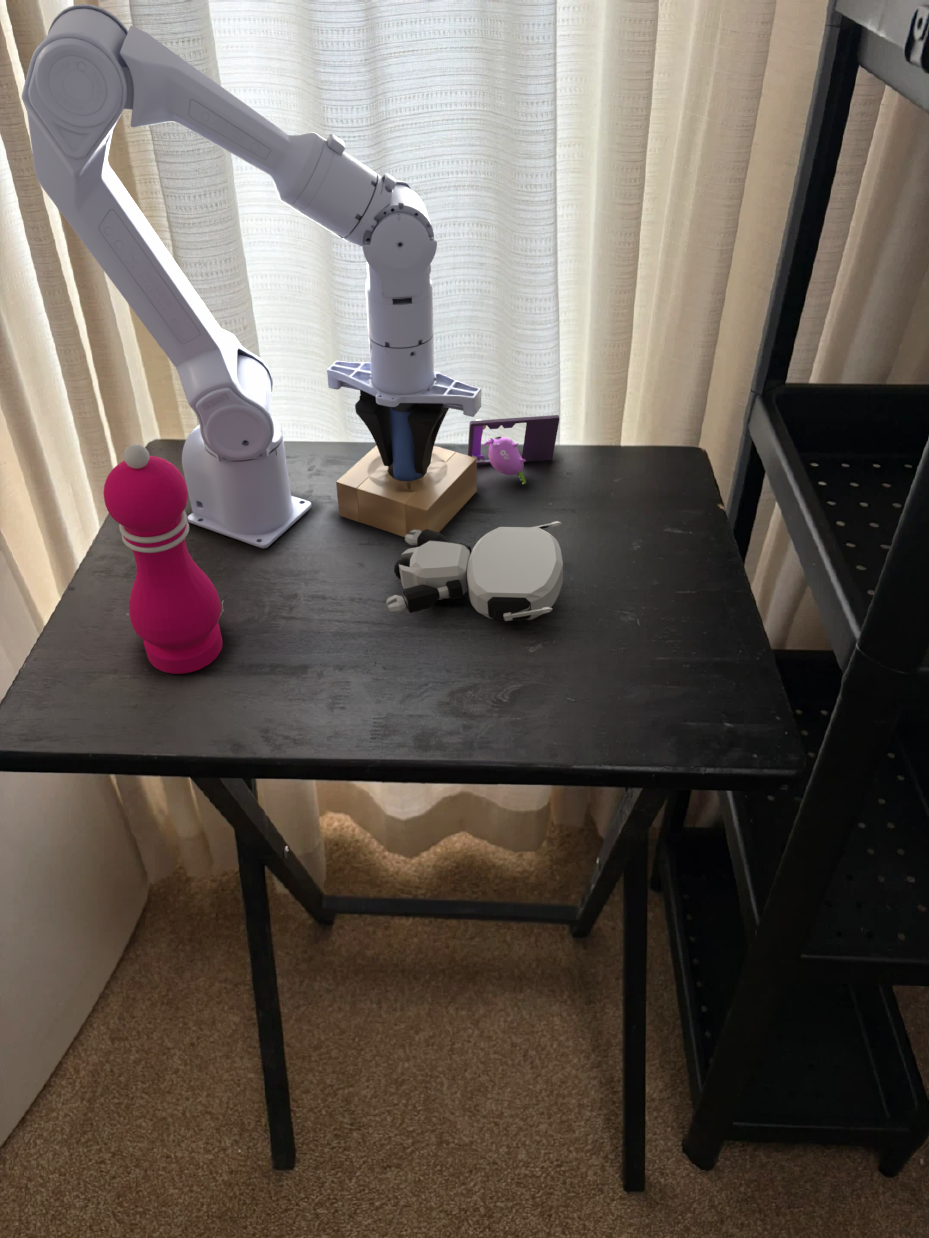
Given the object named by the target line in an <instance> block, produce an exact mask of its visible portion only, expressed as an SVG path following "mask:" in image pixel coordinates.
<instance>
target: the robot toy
mask: <svg viewBox="0 0 929 1238" xmlns="http://www.w3.org/2000/svg"><path fill="white" fill-rule="evenodd" d="M562 524H563V522H561V521H558V520H556V521H552V522H551V523H545V524H541V525H536V526H535V525H534V526H499V527H497V528H495V529H494V528H493V530H491V531H489V532H486V534H484V535H483V536H482V537H480V538H479V540H478V541H477V542H476V544H475V545H474V546H473V547H471V545H468V544H465V543H462V542H460V543H456V542H455V543H454V542H450V541H449V540H448V538H447V537H446V536H444V534H443V533H441V532H439V533H438V532H435V531H432V530H428V529H425V530H423V531H422V532H421V531H420V530H415V529H413V530H412V531H410V532H409V534H407V535H406V536H405V537H404V541H405V542H406V543H407V544H408V545H410V546H416V547H410V548H407V549H406V550H405V551H403V552H402V553H401V558H400V559H398V560H396V562H395V563H394V566H393V567H394V568H393V572H394V574H395V576H396V578H398V579H399V580H400V582H401V586H402V587H403V589H402V591H403V592H402V593H403V595H397V594H393V595H391V596H389V597H387V599H386V601H385V604H386V607H387V608H388V612H390V613H392V614H396V613H402V612H403V611H404V610H406V609H407V611H408V613H409V614H414V613H417V612H421V611H424V610H429V609H430V608H431V607H432V606H433V605H434V604H435V603H436V602H437V601H441V600H444V599H451V600H455V599H459V598H462V597H464V595H465V594H466V593H467V592H468V597H469V601H470V604H471V606H472V607H473V608H474V609H475V611H476V612H477V613H479V614H481V615H483V616H484V617H486V618H488V619H491V620H495V621H505V622H508V621H526V620H527V621H531V620H534V619H536V618H538V617H540V616H542V615H544V614H548V613H550V612H552V610H553V608H552V607H553V605H555V603H556V601H557V599H558V597H559V596H560V592H561V589H562V586H563V583H564V563H563V555H562V550H561V547H560V544H559V541H558V540H557V539H556V538H555V537H554V536H553V535H552V534H551V533H550V532H548V531H546V530H544V529H547V528H556V527H560V526H561V525H562Z"/></svg>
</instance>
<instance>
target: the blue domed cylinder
mask: <svg viewBox="0 0 929 1238" xmlns="http://www.w3.org/2000/svg"><path fill="white" fill-rule="evenodd" d="M417 406H418V403H399V405H398V406H396V407H390V423H391V441H392V458H393V476H394V479H396V480H399V481H413V480H417V479H419V478H422V474H420V473H416V470H415V460H414V442H413V436H412V432H411V428H410V425H409V423H408V416H409V415H410V414H411V412H412V411H413V410H414V409H415V408H416V407H417Z"/></svg>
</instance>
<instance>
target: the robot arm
mask: <svg viewBox="0 0 929 1238" xmlns="http://www.w3.org/2000/svg"><path fill="white" fill-rule="evenodd" d="M21 100H22V103H23V105H24V108H25V110H26V113H27V114H26V115H27V123H28V129H29V137H30V144H31V153H32V161H33V168H34V174H35V178H36V179H37V181H38V183H39V185H40V186H41V188H42V190H43V191H44V192H45V193H46V195H47V196H48V198H49V199H50V200H51V201H52V203H53V204H54V205H55V207H56V208H57V209H58V211H59V212H60V213H61V215H62V216H63V217H64V219H65V220H66V222H67V223H68V224H69V226H70V227H71V228H72V230H73V231H74V232H75V234H76V235H77V236H78V238H79V239H80V241H81V242H82V243H83V245H84V246H85V248H86V249H87V250H88V251H89V253H90V254H91V256H92V257H93V258H94V259H95V261H96V262H97V264H98V265H99V266H100V268H101V269H102V270H103V272H104V273H105V274H106V276H107V277H108V278H109V280H110V281H111V283H112V284H113V285H114V286H115V288H116V289H117V291H118V292H119V294H120V295H121V296H122V297H123V298H124V300H125V301H126V303H127V304H128V305H129V307H130V308H131V310H132V311H133V312H134V314H135V315H136V316H137V317H138V319H139V320H140V322H141V323H142V324H143V326H144V327H145V328H146V330H147V331H148V333H149V334H150V335H151V337H152V338H153V340H155V342H156V343H157V344H158V346H159V348H160V349H161V350H162V351H163V353H164V354H165V355H166V357H167V358H168V359H169V361H170V362H171V363H172V365H173V367H174V368H175V370H176V372H177V374H178V377H179V380H180V383H181V387H182V390H183V393H184V396H185V399H186V402H187V403H188V405H189V407H190V408H191V410H192V411H193V412H194V414H195V415H196V418H197V421H198V423H199V424H198V425H197V426H196V427H194V428H193V429H192V430H191V432H190V433H189V434H188V435H187V436H186V437H187V438H186V439H185V441H184V444H183V447H182V452H181V467H182V471H183V477H184V479H185V482H186V485H187V490H188V500H189V502H190V507H191V513H190V514H189V515H187V522H188V523H190V524H193V525H196V526H198V527H200V528H204V529H206V530H209V531H212V532H215V533H218V534H220V535H223V536H227V537H229V538H231V539H235V540H238V541H240V542H243V543H246V544H249V545H252V546H254V547H258V548H260V549H267V548H269V547H270V546H271V545H272V544H273V543H274V542H275V541H277V539H278V538H279V537H281V536H282V535H283V534H284V533H285V532H286V531H287V530H288V529H290V528H291V527H292V526H293V525H294V524H295V523H296V522H297V521H298V520H299V519H300V518H302V517H303V516H304V515H305V514H306V513H307V512H308V511H310V510H311V509H312V507H313V506H312V502H311V501H309V500H306V499H303V498H300V497H297V496H294V495H292V492H291V491H292V490H291V484H290V477H289V469H288V464H287V463H288V461H287V456H286V447H285V441H284V433H283V429H282V425H281V424H280V423H279V422H278V421H277V419H275V417H274V416H273V407H272V405H273V403H272V392H273V385H274V381H273V374H272V372H271V370H270V368H269V366H268V364H267V363H266V362H265V361H264V360H263V359H262V358H261V357H259V356H258V355H256V354H255V353H253V352H252V351H249V350H248V349H246V348H245V347H244V346H243V345H242V344H241V343H240V341H239V340H238V338H237V337H236V335H235V334H234V333H232V332H230V331H228V330H226V329H223V328H222V327H221V326H220V325H219V323H218V321H217V320H216V319H215V317H214V315H212V313H211V311H210V310H209V309H208V307H207V305H206V304H205V302H204V301H203V300H202V298H201V297H200V295H199V294H198V293H197V291H196V289H195V288H194V287H193V285H192V284H191V282H190V281H189V280H188V279H189V278H187V276H186V275H185V273H184V271H182V269H181V267H180V266H179V265H178V263H177V262H176V260H175V259H174V258H173V256H172V254H171V253H170V251H169V250H168V249H167V246H165V244H164V243H163V241H162V240H161V238H160V237H159V235H158V233H156V230H154V228H153V227H152V225H151V223H150V222H149V221H148V219H147V218H146V216H145V215H144V213H143V211H141V209H140V208H139V206H138V204H137V203H136V202H135V200H134V199H133V197H132V196H131V194H130V193H129V192H128V190H127V188H126V187H125V186H124V184H123V182H122V181H121V180H120V178H119V177H118V175H117V174H116V172H115V171H114V169H113V168H112V167H111V165H110V163H109V154H110V153H109V152H110V147H111V142H112V137H113V131H114V129H115V127H116V125H117V124H118V122H119V119H120V118H121V116H122V115H123V112H124V110H130V111H131V118H130V127H131V128H142V127H147V126H154V125H159V124H165V123H175V124H178V125H180V126H182V127H184V128H185V129H187V130H189V131H191V132H192V133H194V134H196V135H197V136H200V137H201V138H202V139H205V140H207V141H208V142H210V143H212V144H214V145H215V146H217V147H219V148H221V149H222V150H224V151H226V152H228V153H229V154H231V155H233V156H235V157H237V158H238V159H240V160H241V161H244V162H245V163H248V164H249V165H251V166H252V167H255V168H256V169H257V170H260V171H261V172H263V173H265V174H266V175H268V176H270V178H271V179H272V182H273V185H274V189H275V193H276V196H277V198H278V200H279V201H280V202H281V203H283V204H284V205H287V206H288V207H289V208H290V209H291V208H292V209H293V210H295V212H297V213H299V214H301V215H303V216H304V217H306V218H307V219H309V220H310V221H313V222H314V223H316V224H317V225H318V226H320V227H322V228H324V229H325V230H327V231H329V232H330V233H332V235H335V236H336V237H338V238H340V239H341V240H342V241H345V242H347V243H349V244H354V245H357V246H359V247H361V248H362V252H363V253H362V254H363V256H364V259H365V261H366V275H367V277H366V281H365V285H364V288H365V289H364V291H365V303H366V320H367V334H368V337H367V338H368V348H369V361H368V362H367V361H365V362H364V361H363V362H361V361H358V362H357V361H356V362H355V361H343V360H335V361H334V362H333V363H332V364H330V366H329V367H328V368H327V369H326V376H327V385H328V387H327V388H328V389H332V390H340V389H342V388H346V389H351V390H356V391H359V397H358V398H359V399H358V400H357V402H355V404H354V411H355V414H356V415H357V416H358V417H359V418H360V419H361V421H362V422H363V424H364V425H365V426H366V428H367V429H368V431H369V433H370V434H371V436H372V438H373V441H374V443H375V446H376V445H377V448H378V450H379V453H380V456H381V458H382V461H383V464H384V466H388V467H390V466H391V465H392V463H393V458H392V441H391V423H390V407H396V406H398V405H399V403H418V406H417V407H416V408H415V409H414V410H413V411H412V412H411V414H410V415H409V416H408V423H409V425H410V428H411V432H412V436H413V442H414V460H415V470H416V473H420V474H423V473H424V472H425V471H426V469H427V468H428V467H429V465H430V464H431V457H432V452H433V447H434V446H435V443H436V440H437V437H438V434H439V431H440V429H441V426H442V424H443V422H444V420H445V417H446V416H447V414H448V412H449V410H450V409H451V410H456V411H462V415H463V416H466V417H472V418H474V417H475V416H476V414H477V413H478V412H479V411H480V409H481V408H482V387H477V386H474V385H470V384H468V383H465V382H462V381H460V380H457V379H455V378H452V377H450V376H448V375H446V374H444V373H441V372H440V371H437V370H435V347H434V346H435V345H434V340H435V339H434V338H435V337H434V307H433V306H434V301H433V296H434V295H433V281H432V280H431V272H432V263H433V260H434V258H435V256H436V253H437V248H438V241H437V240H436V239H435V233H434V228H433V226H432V223H431V220H430V217H429V214H428V210H427V208H426V206H425V203H424V202H423V200H422V197H420V195H419V194H418V193H417V192H416V191H415V190H414V189H413V188H412V187H411V186H410V184H409V183H408V182H407V181H404V180H400V179H396V178H395V177H394V176H392V175H391V174H389V173H388V172H384V173H383V174H382V176H381V175H380V174H378V173H377V172H376V171H374V170H372V169H371V168H369V167H368V166H366V165H365V164H363V162H361V161H359V160H357V159H356V158H355V157H353V156H352V155H350V154H348V153H347V152H345V150H346V144H345V141H344V140H343V139H341V138H339V137H338V136H336V134H333V133H330V134H329V135H328V137H327V138H324V137H323V136H321V135H320V134H318V133H316V132H315V131H308V132H304V133H299V134H288V133H286V132H285V131H284V130H282V129H281V128H280V127H278V126H277V125H276V124H274V123H272V122H271V121H270V120H268V119H267V118H266V117H265V116H263V115H262V114H260V113H259V112H258V111H256V110H255V109H254V108H252V107H251V106H249V105H247V104H246V103H245V102H243V101H242V100H241V99H239V98H238V97H236V96H235V95H233V93H231V92H229V91H228V90H227V89H225V88H224V87H222V86H221V85H220V84H219V83H217V81H214V80H213V79H211V78H210V77H209V76H207V75H206V74H205V73H204V72H202V71H200V70H199V69H198V68H196V67H195V66H193V65H192V64H190V63H189V62H188V61H186V60H185V59H184V58H182V57H181V56H179V54H176V53H175V52H174V51H173V50H171V49H170V48H168V47H167V46H165V44H163V43H162V42H160V41H159V40H157V39H156V38H155V37H154V36H152V35H151V34H149V33H148V32H146V31H145V30H142V29H140V28H138V27H135V26H134V25H130V26H129V28H127V27H126V26H125V24H124V23H123V22H122V21H121V20H120V19H119V18H118V17H117V16H116V15H114V14H113V13H112V12H110V11H109V10H107V9H105V8H102V7H100V6H97V5H93V4H90V3H80V4H74V5H70V6H68V7H66V8H64V9H63V10H62V11H60V12H59V13H58V14H57V15H56V16H55V17H54V19H53V21H52V22H51V24H50V27H49V28H48V31H47V35H46V36H45V37H44V39H43V40H42V41H41V42H40V43H39V44H38V45H37V46H36V48H35V50H34V51H33V53H32V56H31V58H30V61H29V65H28V69H27V73H26V76H25V81H24V85H23V89H22V92H21Z"/></svg>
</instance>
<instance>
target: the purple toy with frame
mask: <svg viewBox="0 0 929 1238" xmlns="http://www.w3.org/2000/svg"><path fill="white" fill-rule="evenodd" d="M516 424H525V430H524V431H525V432H524V437H523V438H524V440H523V445H522V452H521V453H522V454H520V452H519V449H518V448H517V446H518V445H519V443H516V442H515V441H513V440H512V439H511V438H509V437H505V436H502V435H501V436H497V437H494V438H492V437H490V438H489V439H488V440H487V441H485V442H484V443H483V447H486V446H488V450H487V451H488V453H487V455H488V459H485V456H484V455H483V454H482V437H483V434H484V433H483V432H484V430H485V429H486V428H487V427H488V429H489V430H498V429H499V428H500V427H502V428H503V429H512V428H513V427H514V426H515V425H516ZM559 425H560V415H559V414H552V415H550V414H549V415H539V416H538V415H537V416H524V417H509V418H496V419H495V418H493V419H480V418H477V419H474V420H471V421H469V426H468V439H467V455H468V456H471V457H475V458H477V466H482V465H491V466H492V467H493V468H494V469H495V470H496V471H498V473H500V474H502V475H506V476H515V475H517V476H518V477H517V478H518V479H519V480H518V481H520V482H521V485H526V484H527V481H526V477H525V475H524V473H523V472H522V471H523V470H524V463H526V462H536V461H537V462H539V461H551V460H553V458H554V452H555V447H556V441H557V436H558V430H559Z"/></svg>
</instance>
